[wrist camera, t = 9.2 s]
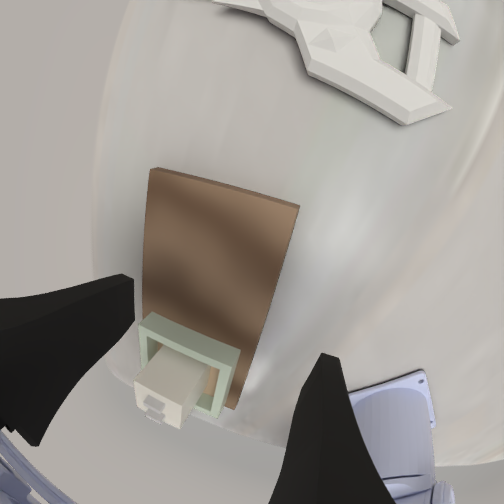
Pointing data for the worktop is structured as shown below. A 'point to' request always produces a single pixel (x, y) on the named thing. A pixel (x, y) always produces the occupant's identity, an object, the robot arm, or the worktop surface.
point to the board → (214, 259)
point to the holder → (198, 347)
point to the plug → (170, 386)
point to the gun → (365, 49)
